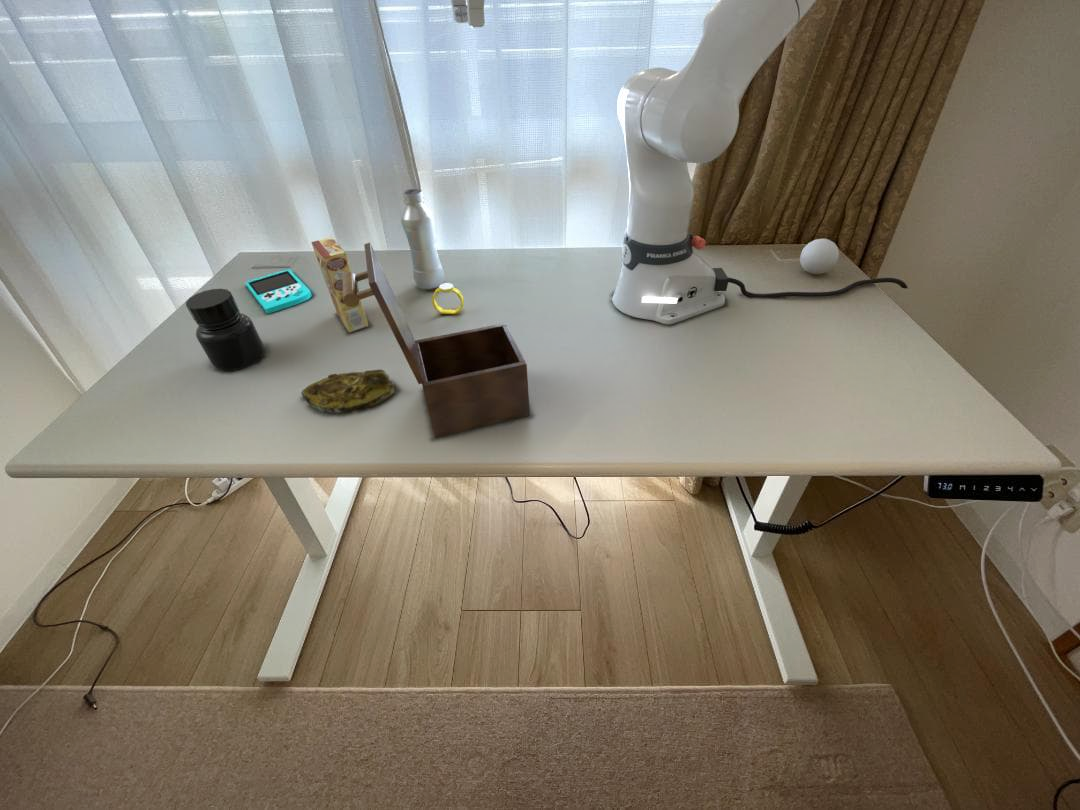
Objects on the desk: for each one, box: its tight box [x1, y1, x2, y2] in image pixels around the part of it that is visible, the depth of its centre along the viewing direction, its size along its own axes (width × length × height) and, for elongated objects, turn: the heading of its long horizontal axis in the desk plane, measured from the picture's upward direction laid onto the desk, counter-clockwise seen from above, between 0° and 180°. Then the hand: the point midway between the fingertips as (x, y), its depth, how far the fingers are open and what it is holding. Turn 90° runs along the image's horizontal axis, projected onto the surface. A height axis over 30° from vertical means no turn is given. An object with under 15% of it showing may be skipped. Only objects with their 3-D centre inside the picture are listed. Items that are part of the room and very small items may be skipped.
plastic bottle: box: [400, 188, 445, 290], centre depth 101 cm, size 6×7×20 cm
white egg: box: [799, 238, 840, 275], centre depth 106 cm, size 10×7×7 cm
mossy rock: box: [301, 369, 396, 414], centre depth 79 cm, size 9×5×15 cm
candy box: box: [311, 236, 369, 333], centre depth 93 cm, size 9×4×15 cm, turn 33°
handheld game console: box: [245, 268, 312, 315], centre depth 107 cm, size 10×16×1 cm, turn 39°
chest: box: [415, 322, 531, 438], centre depth 74 cm, size 15×12×10 cm
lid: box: [343, 242, 424, 385], centre depth 64 cm, size 15×12×5 cm
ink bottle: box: [185, 288, 266, 371], centre depth 85 cm, size 10×9×12 cm
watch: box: [431, 282, 465, 315], centre depth 97 cm, size 6×3×6 cm, turn 89°
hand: (468, 24), depth 63 cm, fingers open, 8 cm apart
